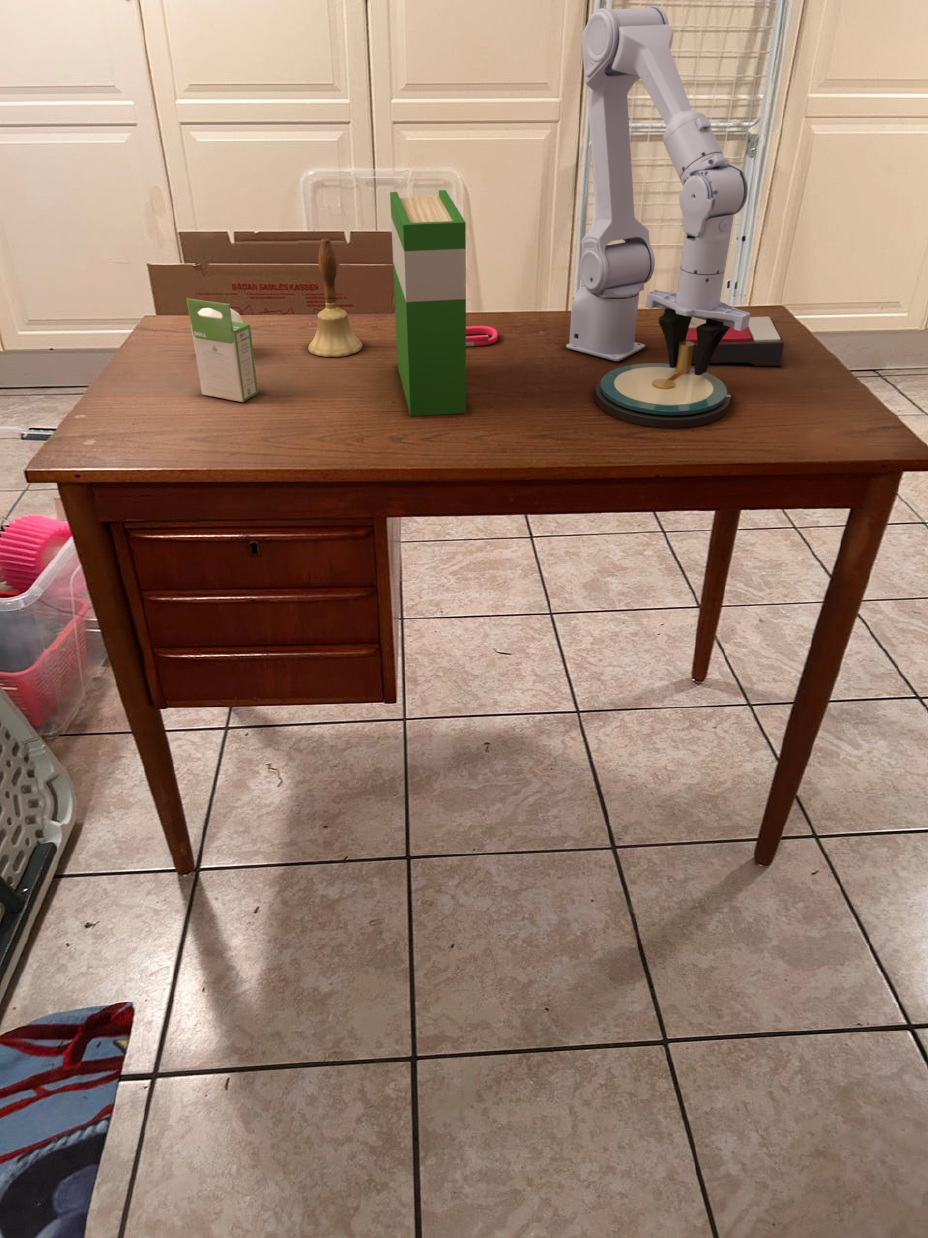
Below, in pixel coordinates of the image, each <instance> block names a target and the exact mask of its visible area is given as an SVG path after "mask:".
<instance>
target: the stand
mask: <svg viewBox="0 0 928 1238" xmlns="http://www.w3.org/2000/svg"><path fill="white" fill-rule="evenodd" d="M600 386H601V380H599V381H598V382H597V384H596V386H595V394H594V398H595V399H594V400H595V402H596V404H597V406H598V407H599V408H600V409H601V410H602V411H603V412H605V413H606V414H608V415H610V416H612V417H614V418H616V419H618V420H621V421H624V422H626V423H631V424H635V425H638V426H643V427H651V428H659V429H685V428H695V427H700V426H704V425H708V424H712V423H713V422H716V421H718V420H720V419H721V418H723V417H724V416H726V414H727V413H728V411H729V410H730V404H731V397H732V396H731V394H730V392H729V391H728V389H727V395H726V399H725V400H724V402H723V403H722V404H721V405H719V406H718V407H716V408H714V409H711V410H708V411H705V412H701V413H696V414H688V415H658V414H650V413H644V412H639V411H635V410H631V409H628V408H625V407H622V406H620V405H618V404H615V403H614V402H612V401H610V400H609V399H608V398H606V397H605V396H604V395H603V393H602V391H601V388H600Z"/></svg>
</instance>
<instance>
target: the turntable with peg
mask: <svg viewBox="0 0 928 1238" xmlns="http://www.w3.org/2000/svg"><path fill="white" fill-rule="evenodd" d="M693 349H694V343H693V342H690V341H682V342H680V343H679V349H678V356H677V364H676V367H675V368H671V367H670V364H669V363H663V362H648V363H634V364H628V365H623V366H621V367H617V368H614V369H611V370H610V371H609V372H607V373H606V374H604V375H603V377H602V378H601V379H600V381H601V386H600V388H601V391H602V393H603V395H604V396H605V397H606V398H608V399H609V400H610V401H612V402H614V403H615V404H618V405H620V406H622V407H625V408H628V409H631V410H635V411H639V412H644V413H650V414H658V415H688V414H696V413H701V412H705V411H708V410H711V409H714V408H716V407H718V406H719V405H721V404H722V403H723V402H724V400H725V399H726V395H727V390H728V389H727V386H726V384H725V383H724V382H723V381H722V380H721V379H720V378H718V377H717V376H715V375H714V374H711V373H709V372H707V371H706V372H705V373H703V374H701V375H700V376H698V375H695V367H692V364H691V363H692V356H693Z"/></svg>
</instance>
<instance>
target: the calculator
mask: <svg viewBox="0 0 928 1238" xmlns="http://www.w3.org/2000/svg"><path fill="white" fill-rule="evenodd" d="M703 323H706V320H702V319H698V318H695V317H692V319H691V322H690V325H689V328H688V332H687V336H686V341H690V342H693V343H694V349H693V356H692V363H691V365H693V364H694V365H695V363H696V356H697V331H696V328H697V326H699V325H701V324H703ZM784 345H785V342H784V339H783V337H782V335H781V333H780V332H779V329H778V328H777V326H776V324H775V322H774V321H773V318H771V317H770V316H750V319H749V325H748V328H746V329H744V330H742V331H738V330H734V327H730V329H729V330H728V331H727V332H726V334H725V335H724V337H723V338H722V340H721V341H720V343H719V344H718V346H717V348H716V350H715V352H714V354H713V356H712V358H711V360H710V363H709V364H736V363H737V364H739V363H740V364H741V363H748V364H751V365H752V366H754V367H779V366H781V365H782V359H783V352H784Z"/></svg>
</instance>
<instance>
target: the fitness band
mask: <svg viewBox="0 0 928 1238" xmlns="http://www.w3.org/2000/svg"><path fill="white" fill-rule="evenodd" d="M489 336H490V337H489ZM498 339H499V335H498V331H497V329H496V328H494V327H492V326H488V325H471V326H466V348H468V347H481V346H488V345H492V344H494V343H496V342H497V341H498Z"/></svg>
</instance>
